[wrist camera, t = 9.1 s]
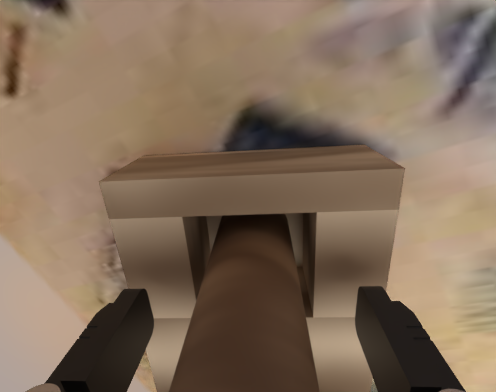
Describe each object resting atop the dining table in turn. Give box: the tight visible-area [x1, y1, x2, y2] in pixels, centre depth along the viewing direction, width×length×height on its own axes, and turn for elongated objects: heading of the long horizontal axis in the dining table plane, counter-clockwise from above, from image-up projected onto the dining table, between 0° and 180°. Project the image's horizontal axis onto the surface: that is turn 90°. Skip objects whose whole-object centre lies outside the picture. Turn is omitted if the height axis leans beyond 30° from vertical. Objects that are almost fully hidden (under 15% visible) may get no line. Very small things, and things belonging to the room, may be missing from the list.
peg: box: [169, 213, 320, 392], centre depth 10 cm, size 4×4×12 cm
